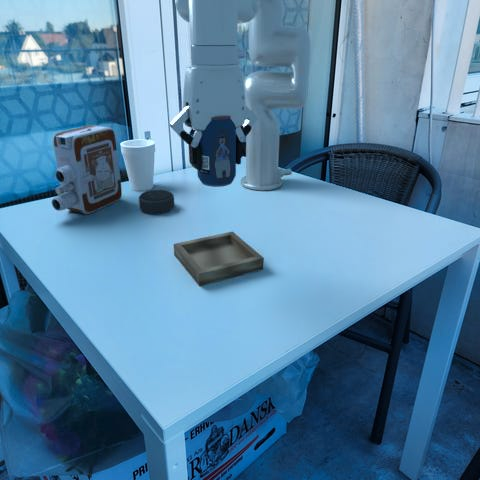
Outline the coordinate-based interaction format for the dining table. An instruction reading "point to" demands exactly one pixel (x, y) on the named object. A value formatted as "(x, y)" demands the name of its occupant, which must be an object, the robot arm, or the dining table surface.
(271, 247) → the dining table surface
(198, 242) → the taupe tray
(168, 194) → the smart speaker
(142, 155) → the foam cup
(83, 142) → the cine camera
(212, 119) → the soda can
